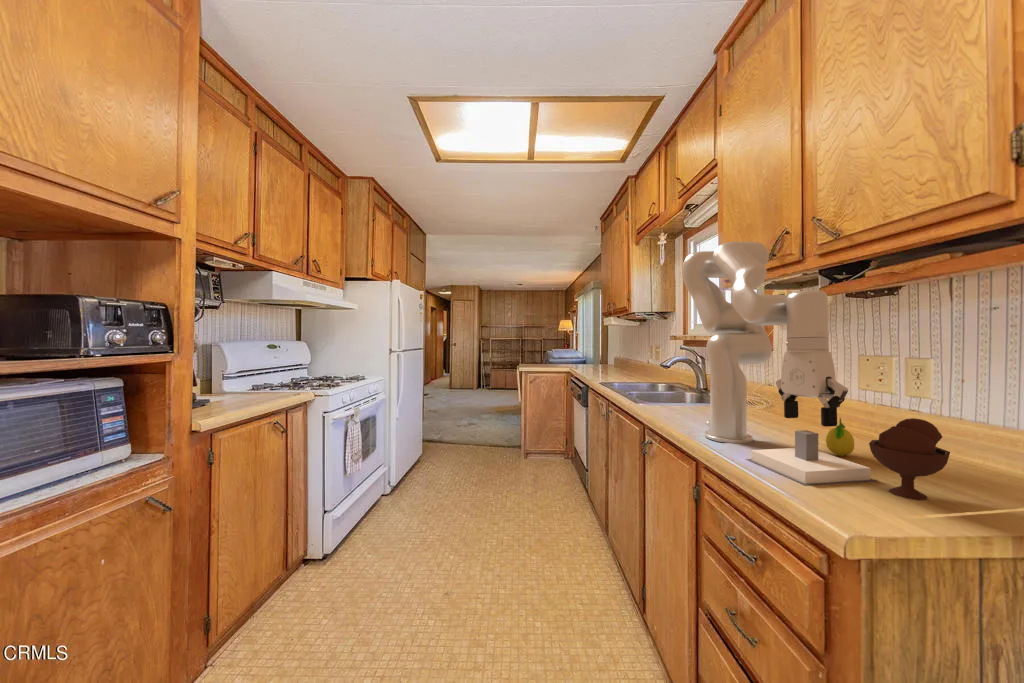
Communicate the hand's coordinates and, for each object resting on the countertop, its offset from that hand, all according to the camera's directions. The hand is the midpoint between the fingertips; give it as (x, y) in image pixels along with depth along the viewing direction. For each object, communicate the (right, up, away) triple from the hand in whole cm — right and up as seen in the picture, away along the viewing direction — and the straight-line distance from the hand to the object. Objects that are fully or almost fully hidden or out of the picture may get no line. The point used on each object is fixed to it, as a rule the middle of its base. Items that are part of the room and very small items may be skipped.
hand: (809, 421), depth 88 cm
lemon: (+16, -11, +11) cm, 22 cm away
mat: (0, -11, +1) cm, 11 cm away
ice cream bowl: (+9, -12, -13) cm, 20 cm away
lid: (0, -11, +1) cm, 11 cm away
